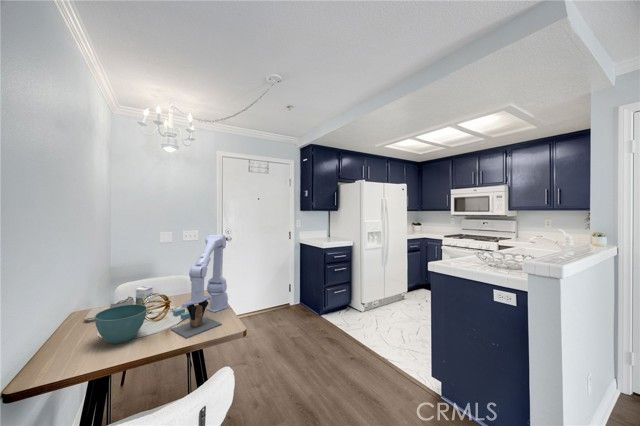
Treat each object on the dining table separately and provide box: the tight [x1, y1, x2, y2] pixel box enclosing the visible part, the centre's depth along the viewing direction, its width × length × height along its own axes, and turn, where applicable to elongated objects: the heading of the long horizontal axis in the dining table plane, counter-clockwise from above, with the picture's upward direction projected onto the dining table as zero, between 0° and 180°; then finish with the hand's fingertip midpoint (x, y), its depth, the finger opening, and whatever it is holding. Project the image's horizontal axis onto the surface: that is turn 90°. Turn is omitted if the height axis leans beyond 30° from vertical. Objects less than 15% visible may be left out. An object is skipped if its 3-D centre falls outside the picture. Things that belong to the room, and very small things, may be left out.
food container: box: [109, 296, 135, 308], centre depth 134 cm, size 12×6×10 cm, turn 179°
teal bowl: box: [94, 303, 147, 345], centre depth 113 cm, size 18×18×12 cm
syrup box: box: [135, 285, 154, 305], centre depth 142 cm, size 6×6×14 cm
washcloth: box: [83, 305, 110, 324], centre depth 138 cm, size 12×18×3 cm, turn 34°
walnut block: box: [189, 304, 203, 327], centre depth 127 cm, size 4×4×9 cm
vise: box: [169, 306, 190, 321], centre depth 141 cm, size 5×17×2 cm, turn 56°
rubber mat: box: [170, 316, 222, 339], centre depth 126 cm, size 18×14×1 cm
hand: (197, 318), depth 126 cm, fingers closed on walnut block, 4 cm apart
